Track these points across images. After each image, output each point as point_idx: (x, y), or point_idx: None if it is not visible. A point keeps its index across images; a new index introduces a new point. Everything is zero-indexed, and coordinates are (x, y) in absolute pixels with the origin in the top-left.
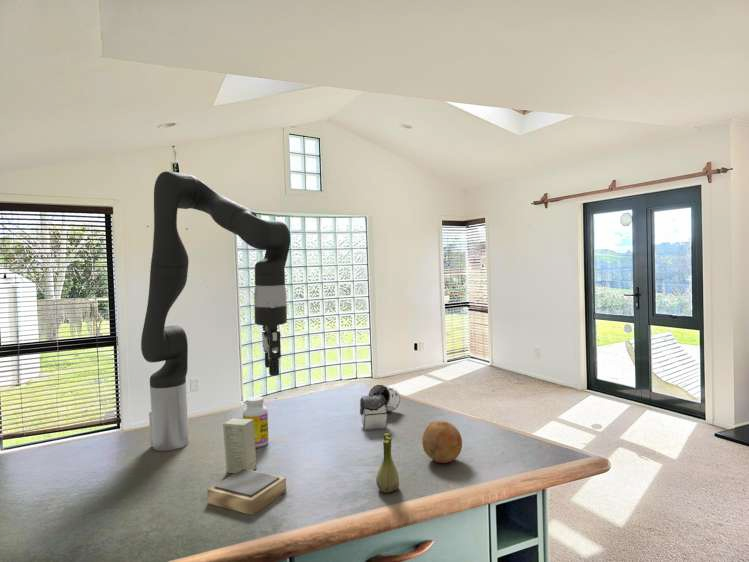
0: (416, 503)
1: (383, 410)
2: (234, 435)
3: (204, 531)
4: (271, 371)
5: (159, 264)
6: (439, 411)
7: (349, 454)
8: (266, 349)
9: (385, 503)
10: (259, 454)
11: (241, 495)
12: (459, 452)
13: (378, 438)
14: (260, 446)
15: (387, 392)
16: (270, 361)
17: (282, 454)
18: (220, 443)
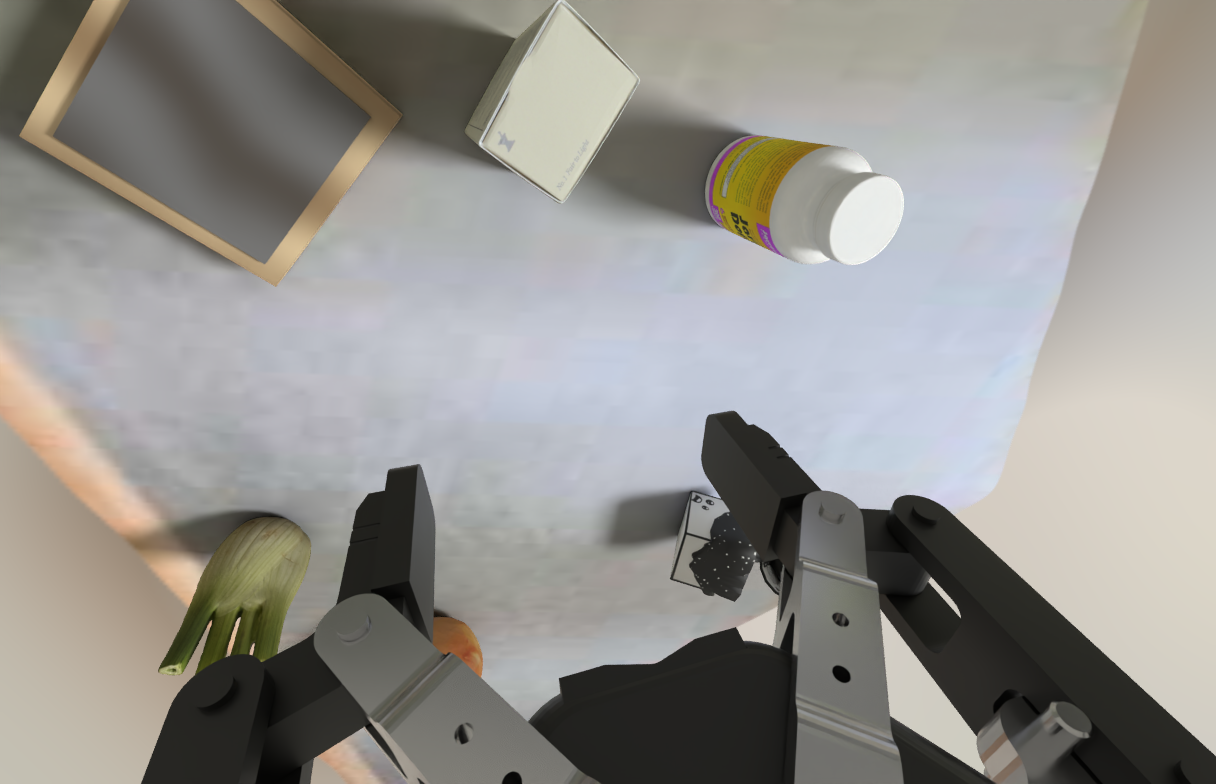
0: (179, 580)
1: (683, 576)
2: (505, 80)
3: None
4: (366, 509)
5: None
6: (718, 626)
7: (539, 455)
8: (403, 697)
9: (180, 522)
10: (644, 191)
11: (75, 88)
12: None
13: (620, 519)
14: (705, 199)
15: None
16: (376, 584)
17: (612, 272)
18: (824, 30)
